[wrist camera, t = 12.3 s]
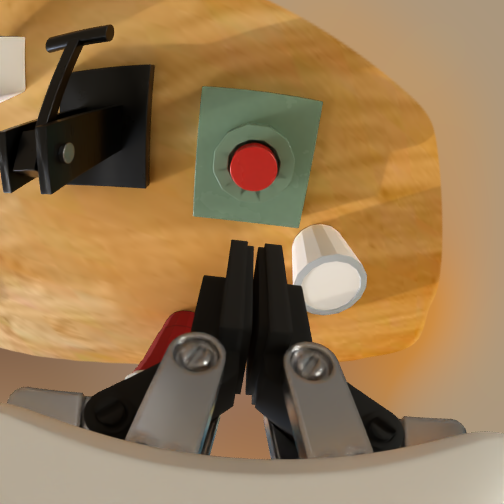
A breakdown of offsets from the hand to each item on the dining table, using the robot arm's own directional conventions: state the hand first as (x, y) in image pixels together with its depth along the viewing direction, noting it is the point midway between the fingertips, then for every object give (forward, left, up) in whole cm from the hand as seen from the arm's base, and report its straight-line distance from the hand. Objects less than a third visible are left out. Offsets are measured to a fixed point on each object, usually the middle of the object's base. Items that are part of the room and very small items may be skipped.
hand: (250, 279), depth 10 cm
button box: (0, 0, -19) cm, 19 cm away
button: (0, 0, -15) cm, 15 cm away
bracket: (-2, -15, -19) cm, 24 cm away
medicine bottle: (-10, -30, -19) cm, 37 cm away
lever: (-5, -15, -12) cm, 20 cm away
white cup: (+9, +8, -19) cm, 23 cm away
